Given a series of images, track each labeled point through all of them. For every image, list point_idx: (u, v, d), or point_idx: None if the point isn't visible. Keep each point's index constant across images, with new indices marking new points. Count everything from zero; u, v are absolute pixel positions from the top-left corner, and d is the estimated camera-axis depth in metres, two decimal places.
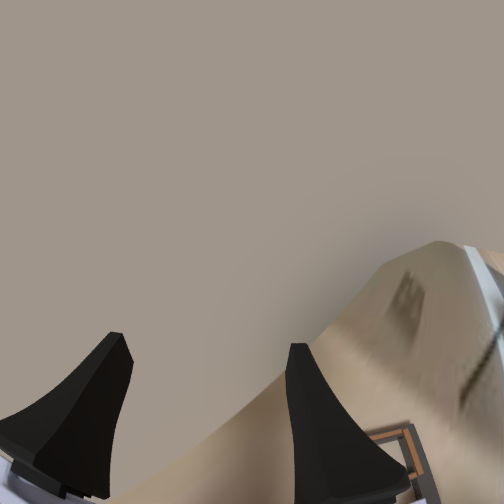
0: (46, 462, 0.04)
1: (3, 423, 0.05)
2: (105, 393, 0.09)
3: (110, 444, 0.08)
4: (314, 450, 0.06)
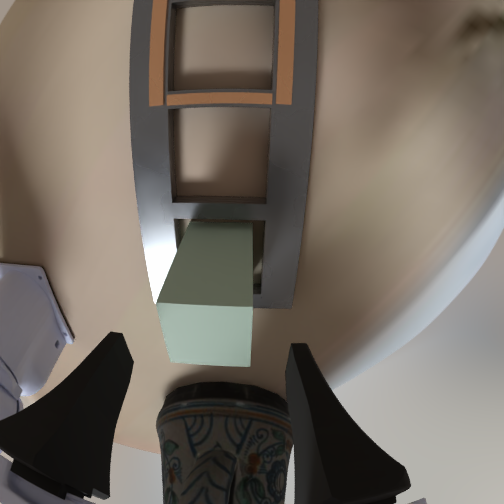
0: (46, 462, 0.04)
1: (2, 423, 0.05)
2: (105, 393, 0.09)
3: (110, 444, 0.08)
4: (314, 450, 0.06)
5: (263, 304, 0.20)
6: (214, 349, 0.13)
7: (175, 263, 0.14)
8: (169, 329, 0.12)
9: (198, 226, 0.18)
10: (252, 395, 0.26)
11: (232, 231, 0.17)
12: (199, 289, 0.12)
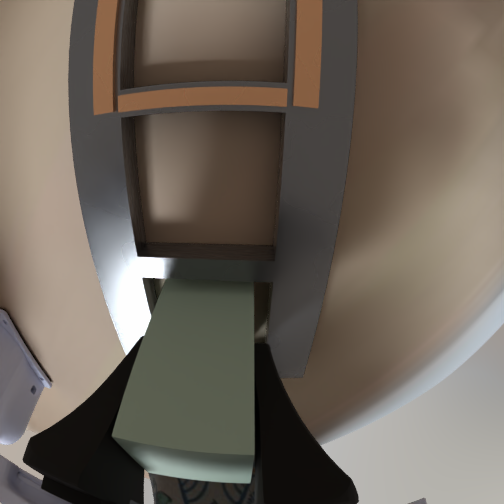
0: (90, 480, 0.04)
1: (35, 440, 0.05)
2: None
3: None
4: (259, 453, 0.06)
5: None
6: (202, 473, 0.07)
7: (140, 361, 0.09)
8: (138, 456, 0.07)
9: (177, 286, 0.12)
10: None
11: (224, 297, 0.12)
12: (174, 418, 0.07)
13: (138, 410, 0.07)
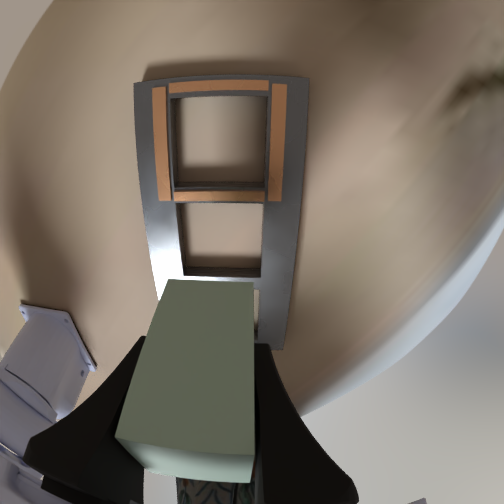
0: (89, 480, 0.04)
1: (34, 440, 0.05)
2: None
3: None
4: (260, 453, 0.06)
5: None
6: (203, 473, 0.08)
7: (142, 363, 0.09)
8: (140, 456, 0.07)
9: (178, 288, 0.12)
10: None
11: (224, 300, 0.12)
12: (175, 419, 0.07)
13: (140, 411, 0.07)
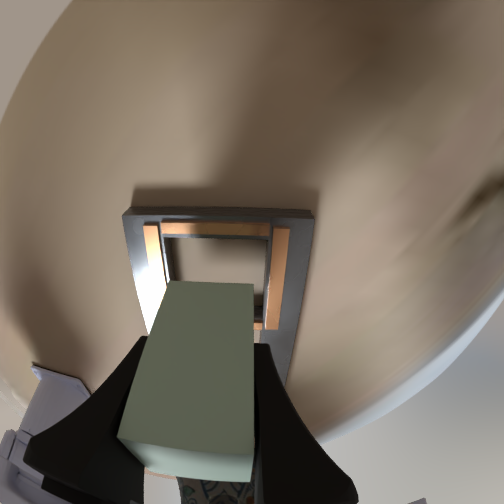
0: (90, 480, 0.04)
1: (35, 440, 0.05)
2: None
3: None
4: (260, 453, 0.06)
5: None
6: (203, 472, 0.08)
7: (144, 364, 0.09)
8: (142, 455, 0.07)
9: (179, 290, 0.13)
10: None
11: (224, 302, 0.12)
12: (177, 419, 0.07)
13: (142, 412, 0.07)
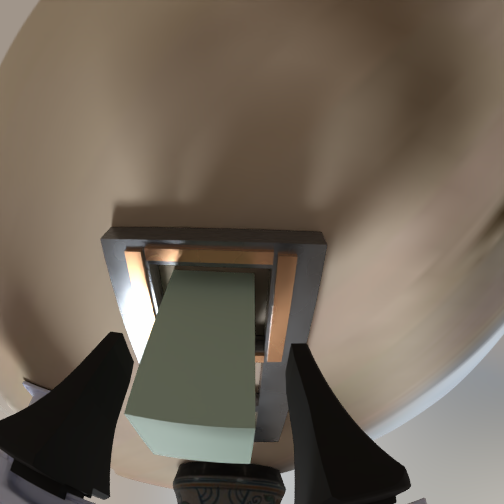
0: (46, 462, 0.04)
1: (3, 423, 0.05)
2: (105, 393, 0.09)
3: (110, 444, 0.08)
4: (314, 450, 0.06)
5: (256, 440, 0.22)
6: (205, 452, 0.08)
7: (150, 345, 0.10)
8: (147, 434, 0.08)
9: (183, 278, 0.13)
10: (249, 471, 0.28)
11: (227, 289, 0.13)
12: (182, 396, 0.08)
13: (149, 389, 0.08)
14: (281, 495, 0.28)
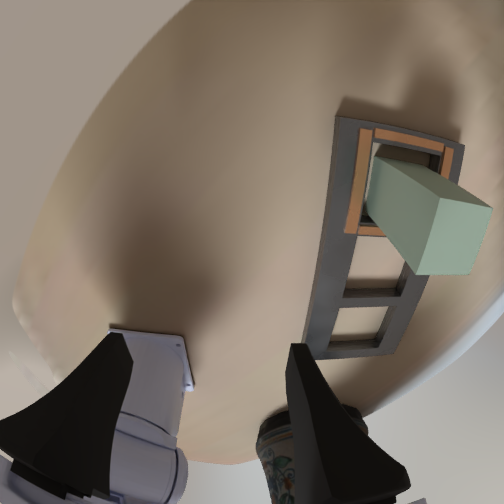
0: (46, 462, 0.04)
1: (3, 423, 0.05)
2: (105, 393, 0.09)
3: (110, 444, 0.08)
4: (314, 450, 0.06)
5: (377, 353, 0.25)
6: (457, 253, 0.12)
7: (412, 177, 0.13)
8: (437, 229, 0.11)
9: (387, 159, 0.16)
10: None
11: (417, 167, 0.16)
12: (454, 194, 0.11)
13: (437, 190, 0.11)
14: None
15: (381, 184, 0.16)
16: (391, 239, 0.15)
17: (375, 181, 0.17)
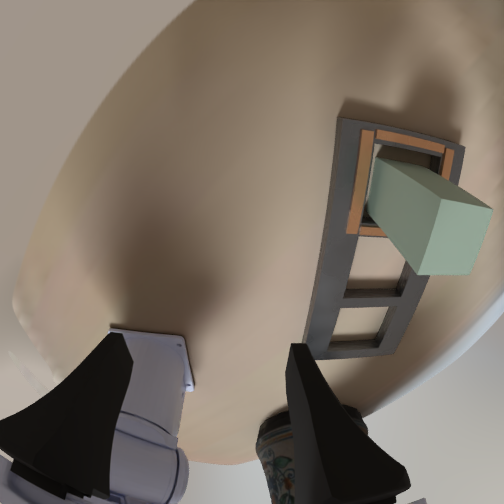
0: (46, 462, 0.04)
1: (3, 423, 0.05)
2: (105, 393, 0.09)
3: (110, 444, 0.08)
4: (314, 450, 0.06)
5: (377, 353, 0.25)
6: (458, 253, 0.12)
7: (414, 178, 0.13)
8: (438, 230, 0.11)
9: (388, 160, 0.17)
10: None
11: (418, 168, 0.16)
12: (455, 195, 0.11)
13: (439, 191, 0.11)
14: None
15: (382, 185, 0.16)
16: (392, 240, 0.15)
17: (376, 182, 0.17)
